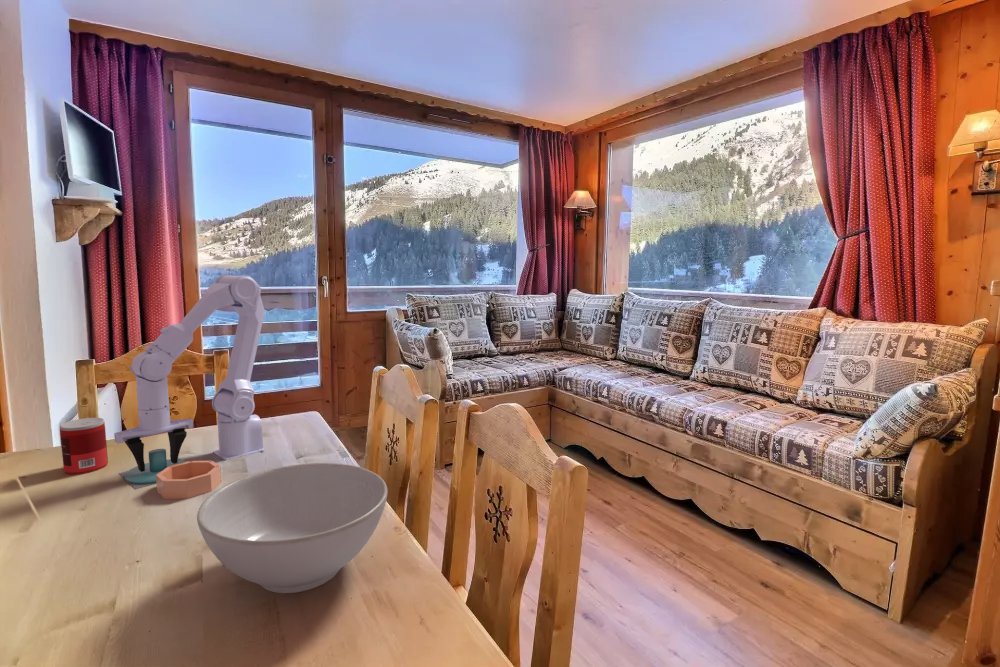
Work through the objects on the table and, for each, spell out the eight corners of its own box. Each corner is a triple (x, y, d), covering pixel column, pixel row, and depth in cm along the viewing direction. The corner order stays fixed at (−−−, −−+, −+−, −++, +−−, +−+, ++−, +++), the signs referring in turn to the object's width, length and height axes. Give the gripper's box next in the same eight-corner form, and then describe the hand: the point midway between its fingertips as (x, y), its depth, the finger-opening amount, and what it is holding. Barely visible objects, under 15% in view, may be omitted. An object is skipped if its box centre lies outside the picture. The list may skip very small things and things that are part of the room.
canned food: (116, 463, 122) (112, 418, 120) (86, 477, 114) (82, 428, 112) (86, 461, 122) (82, 416, 121) (54, 475, 114) (49, 427, 113)
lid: (179, 458, 124) (178, 438, 124) (198, 472, 116) (196, 450, 116) (118, 473, 115) (117, 451, 115) (134, 489, 107) (133, 465, 107)
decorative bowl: (212, 543, 88) (208, 475, 86) (373, 515, 99) (371, 454, 97) (188, 651, 64) (182, 559, 62) (405, 599, 74) (404, 519, 73)
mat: (179, 460, 124) (179, 458, 124) (198, 473, 116) (198, 472, 116) (118, 474, 115) (118, 473, 115) (135, 490, 107) (134, 489, 107)
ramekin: (207, 474, 116) (206, 456, 116) (227, 488, 109) (226, 469, 109) (152, 489, 108) (151, 470, 108) (170, 505, 101) (168, 485, 101)
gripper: (184, 397, 122) (187, 453, 124) (108, 409, 111) (113, 470, 113) (195, 403, 117) (198, 460, 119) (117, 416, 106) (123, 479, 108)
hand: (158, 466), depth 116 cm, fingers open, 6 cm apart
